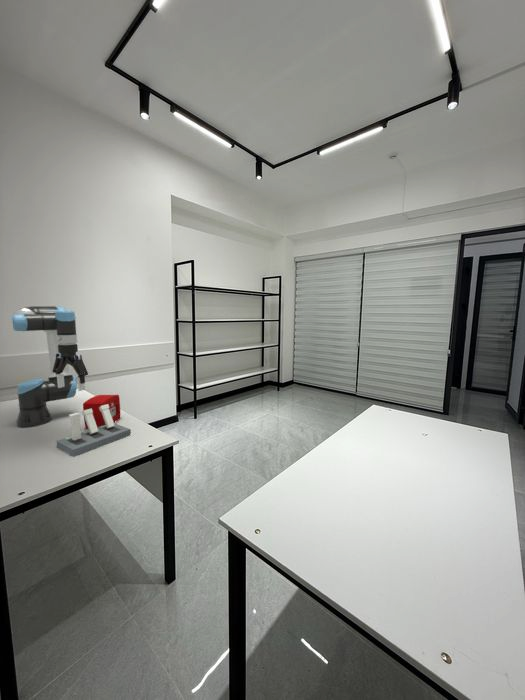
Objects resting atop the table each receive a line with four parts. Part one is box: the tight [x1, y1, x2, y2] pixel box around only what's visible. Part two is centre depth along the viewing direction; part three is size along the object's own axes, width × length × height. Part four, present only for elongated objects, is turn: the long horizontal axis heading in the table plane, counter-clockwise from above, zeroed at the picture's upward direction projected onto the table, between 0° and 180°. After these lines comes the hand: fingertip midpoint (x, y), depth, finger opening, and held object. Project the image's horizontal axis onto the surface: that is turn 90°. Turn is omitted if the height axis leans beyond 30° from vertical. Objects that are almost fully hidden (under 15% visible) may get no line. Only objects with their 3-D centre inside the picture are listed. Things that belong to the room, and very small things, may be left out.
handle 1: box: [81, 408, 98, 434], centre depth 138 cm, size 2×4×12 cm
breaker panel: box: [55, 422, 132, 457], centre depth 137 cm, size 16×26×3 cm, turn 147°
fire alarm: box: [82, 394, 121, 430], centre depth 157 cm, size 16×11×15 cm
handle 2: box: [99, 404, 115, 429], centre depth 144 cm, size 2×4×12 cm
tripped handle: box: [68, 412, 82, 440], centre depth 129 cm, size 2×4×12 cm, turn 147°
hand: (71, 388), depth 136 cm, fingers open, 13 cm apart
